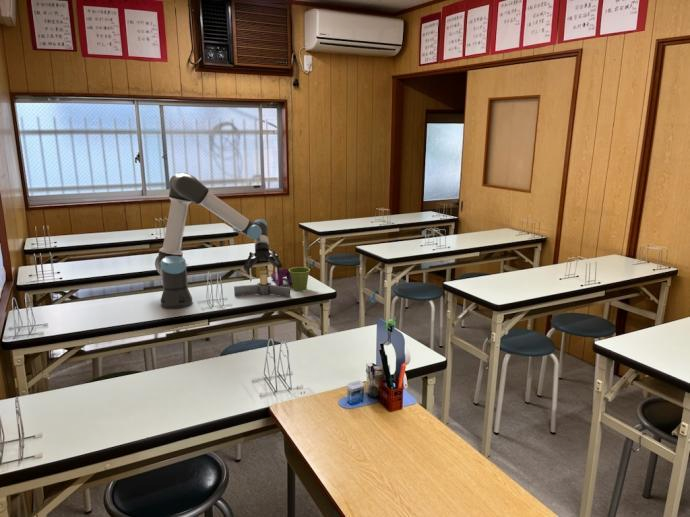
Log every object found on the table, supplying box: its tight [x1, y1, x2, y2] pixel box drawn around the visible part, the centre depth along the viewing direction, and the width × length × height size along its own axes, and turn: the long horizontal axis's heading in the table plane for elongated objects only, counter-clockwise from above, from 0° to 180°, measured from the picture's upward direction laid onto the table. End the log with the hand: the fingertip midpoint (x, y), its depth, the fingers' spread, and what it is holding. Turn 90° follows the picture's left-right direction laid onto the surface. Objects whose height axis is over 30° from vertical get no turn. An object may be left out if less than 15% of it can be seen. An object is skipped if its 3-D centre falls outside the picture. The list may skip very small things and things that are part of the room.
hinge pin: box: [259, 270, 268, 286], centre depth 266 cm, size 4×4×12 cm
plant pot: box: [288, 266, 311, 292], centre depth 273 cm, size 12×12×11 cm
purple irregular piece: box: [270, 268, 293, 287], centre depth 286 cm, size 10×8×18 cm
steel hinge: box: [233, 282, 291, 298], centre depth 266 cm, size 30×10×5 cm, turn 87°
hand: (263, 279), depth 263 cm, fingers open, 13 cm apart
